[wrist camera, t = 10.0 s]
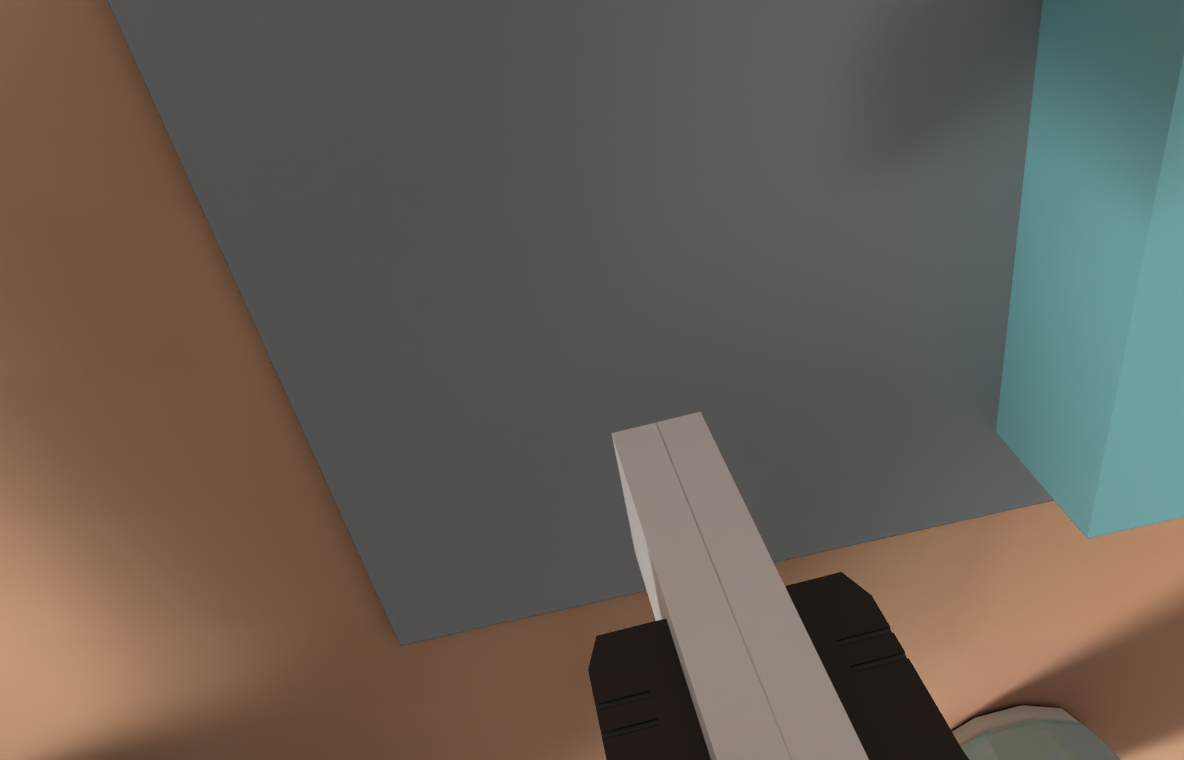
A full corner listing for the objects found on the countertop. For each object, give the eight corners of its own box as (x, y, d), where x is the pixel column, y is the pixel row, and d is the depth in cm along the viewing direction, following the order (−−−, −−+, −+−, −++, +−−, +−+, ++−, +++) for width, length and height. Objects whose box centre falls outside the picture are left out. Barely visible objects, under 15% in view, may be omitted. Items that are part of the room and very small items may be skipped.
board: (1573, 376, 25) (1584, 382, 25) (400, 637, 25) (400, 645, 25) (2047, -482, 15) (2075, -487, 15) (84, -67, 15) (77, -66, 14)
